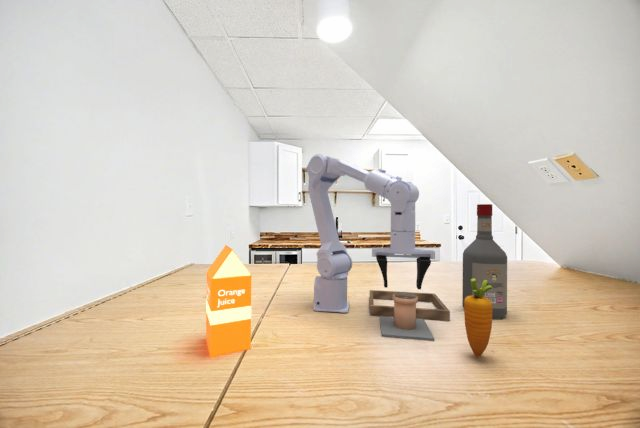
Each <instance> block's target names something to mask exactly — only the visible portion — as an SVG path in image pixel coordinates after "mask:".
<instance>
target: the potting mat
mask: <svg viewBox="0 0 640 428" xmlns="http://www.w3.org/2000/svg"><path fill="white" fill-rule="evenodd" d="M379 325H380V331H381V332H380V333H381V337H384V338H385V337H386V338H394V339H408V340H417V341H419V340H420V341H430V342H431V341H432V342H434V341H435V337H434V335H433V333H432V332H431V329H430V328H429V325H428V324H427V322H426V319H416V328H415V329H412V330H405V329H400V328H397V327H396V326H394V317H386V316H379Z"/></svg>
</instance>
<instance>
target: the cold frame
mask: <svg viewBox="0 0 640 428" xmlns="http://www.w3.org/2000/svg"><path fill="white" fill-rule="evenodd" d="M394 293H410V294H414V295H416V296H418V302H417V303H419V302H420V303H432V304H433V306H434V307H435V308H423V307H416V319H424V320H429V321H431V320H432V321H444V322H450V321H451V311H450V309H449V308H448V307H447V306H446V305H445V304H444V303H443V301H442V300H441V299H440V297H438V295H437V294H436V293H431V292H414V291H413V292H411V291H396V290H395V291H393V290H377V289H376V290H375V289H369V316H373V317H374V316H376V317H380V316H384V317H394V305H380V304H379V305H378V304H377V305H376V304H375V303H374V300H387V301H393V299H392V295H393V294H394Z"/></svg>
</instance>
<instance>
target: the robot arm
mask: <svg viewBox="0 0 640 428" xmlns="http://www.w3.org/2000/svg"><path fill="white" fill-rule="evenodd" d="M306 171H307V174H308V189H307V190H308V194H309V199H310V203H311V206H312V211H313V216H314V221H315V224H316V229H317V233H318V238H319V242H320V247H319V249H318V250H317V251H316V256H317V258H316V259H317V261H316V270H317V272H318V274H319V275H316V276H315V279H314V282H313V284H314V285H313V311H314V312H329V313H343V314H344V313H345V314H347V313H348V311H349V308H350V302H349V301H348V276H349V272H350V271H351V269H352V268H353V259H352V257H351V256H350V254H349V253H348V250H347V247H346V245H344V244H343V243H342V242H341V241H340V238H339V234H338V230H337V225H336V221H335V218H334V213H333V210H332V205H331V201H330V197H329V193H328V191H329V190H330V188H331V187H332V186H333V185H334V184H335V183H336V182H337V181H338V180H339V178H340V177H344V176H348V177H349V178H352V179H355V180H357V181H359V182H362V183H364V186H365V189H366V190H367V191H370V192H372V193H374V194H375V195H377V196H380V197H382V198H385V199H387V200H388V202H389V203H390V242H389V243H390V247H371V257H372V258H374V257H375V258H376V262H377V264H378V266H379V267H378V268H379V269H380V272H381V275H382V279H383V287H384V288H385V289H386V288H388V284H389V283H388V258H407V259H408V258H409V259H416V283H415V285H416V288H417V290H422V286H423V281H424V278H425V276H426V273H427V271H428V270H429V267H430V266H431V264H432V260H435V259H436V250H434V249H424V248H423V249H421V248H416V203H417V201H418V199H419V196H420V191H419V188H418V187H417V186H416V185H415V184H414V183H412V182H411V181H404V180H402V179H403V178H402V177H401V176H397V175H396V176H393V175H392V174H388V173H387V170H385V169H382V168H379V169H375V168H374V169H372V170H370V171H368V170H366V169H365V168H363V167H360V166H358V165H356V164H354V163H352V162H350V161H347V160H344V159H341V158H335V157H331V156H328V155H323V154H320V153H316V154H314V155H313V156H312V157H311V158H310V159H309V161H308V164H307V165H306Z"/></svg>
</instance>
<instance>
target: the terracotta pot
mask: <svg viewBox="0 0 640 428" xmlns="http://www.w3.org/2000/svg"><path fill="white" fill-rule="evenodd" d="M392 299H393V300H392V301H393V306H394V326H396V327H397V328H400V329H405V330H412V329H415V328H416V308H417V303H419V302H418V296H416V295H414V294H410V293H394V294H393V295H392Z"/></svg>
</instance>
